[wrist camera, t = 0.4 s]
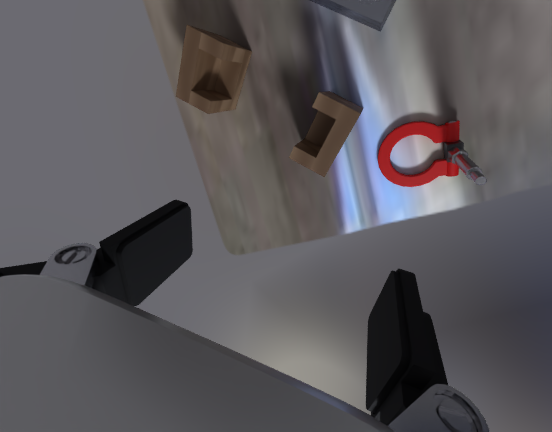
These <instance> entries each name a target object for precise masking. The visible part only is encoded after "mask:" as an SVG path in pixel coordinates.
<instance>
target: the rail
mask: <svg viewBox="0 0 552 432" xmlns="http://www.w3.org/2000/svg"><path fill="white" fill-rule="evenodd" d="M310 1H312V2H315V3H317V4H319V5H321V6H324V7H326V8H328V9H330V10H333V11H335V12H337V13H339V14H342V15H344V16H346V17H348V18H351V19H353V20H355V21H358V22H360V23H362V24H364V25H367V26H369V27H371V28H373V29H376V30H378V31H380V32H381V30H382V28H383V26H384V24H385V22H386V20H387V18H388V16H389V14H390V12H391V10H392V8H393V6H394V4H395V2H396V0H310Z"/></svg>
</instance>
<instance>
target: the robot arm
mask: <svg viewBox="0 0 552 432" xmlns="http://www.w3.org/2000/svg"><path fill="white" fill-rule="evenodd" d="M99 243H100V247H101V248H99V249H97V250H96V248H95V246H93V245H91V244H87V243H78V244H72V245H68V246H65V247H63V248H61V249H59V250H57V251H56V252H54V253H53V254H52V255H51V256H50V258H49V259H48V261H45V262H39V263H33V264H25V265H19V266H12V267H5V268H0V432H489V428H488V425H487V423H486V420H485V418H484V417H483V415H482V414H481V412H480V411H479V409H478V408H477V407H476V406H475V404H474V403H473V402H472V401H471V400H470V399H469V398H468V397H466V396H465V395H464V394H463V393H462V392H460V391H458V390H457V389H455V388H453V387H451V386H448V383H447V379H446V375H445V371H444V367H443V362H442V358H441V354H440V350H439V346H438V343H437V339H436V335H435V330H434V326H433V323H432V319H431V316H430V315H429V314H428V313H425V312H423V309H422V305H421V300H420V296H419V292H418V286H417V282H416V277H415V274H414V273H411V272H408V271H405V270H402V269H398V270H397V271H396V272H395V271H391V273H390V274H389V277H388V279H387V281H386V283H385V285H384V287H383V289H382V291H381V293H380V295H379V297H378V299H377V301H376V303H375V305H374V307H373V309H372V311H371V314H370V316H369V320H368V341H367V342H368V343H367V379H366V381H367V382H366V409H367V410H369V411H371V415H369V414H367V413H365V412H363V411H361V410H359V409H357V408H356V407H353V406H352V405H350V404H348V403H346V402H344V401H342V400H340V399H338V398H336V397H334V396H331V395H329V394H327V393H325V392H323V391H321V390H319V389H316V388H314V387H312V386H310V385H308V384H306V383H304V382H302V381H300V380H297V379H295V378H293V377H291V376H289V375H286V374H284V373H282V372H279V371H278V370H275V369H273V368H271V367H268V366H266V365H264V364H262V363H260V362H258V361H256V360H253V359H251V358H249V357H247V356H244V355H242V354H240V353H238V352H235V351H233V350H231V349H229V348H227V347H224V346H222V345H220V344H218V343H215V342H213V341H211V340H209V339H207V338H204V337H202V336H199V335H198V334H195V333H193V332H191V331H189V330H186V329H184V328H182V327H180V326H177V325H175V324H173V323H170V322H168V321H166V320H163V319H162V318H159V317H157V316H155V315H152V314H150V313H148V312H146V311H143V310H141V309H139V308H136V307H134V306H137V305H139V304H140V303H141V302H142V301H143V300H144V299H145V298H146V297H147V296H149V295H150V294H151V293H152V292H153V291H154V290H155V289H156V288H157V287H158V286H159V285H160V284H162V283H163V282H164V281H165V280H166V279H167V278H168V277H169V276H170V275H171V274H172V273H174V272H175V271H176V270H177V269H178V268H179V267H180V266H181V265H182V264H183V263H184V262H185V261H186V260H188V259H189V258H190V256H191V255H192V250H193V249H192V227H191V209H190V207H189V206H188V204H187V203H185V202H182V201H179V200H173V201H171V202H170V203H168V204H166V205H164V206H163V207H161V208H159V209H157V210H155V211H154V212H152V213H150V214H148V215H147V216H145V217H143V218H141V219H140V220H138V221H136V222H134V223H132V224H131V225H129V226H127V227H125V228H123V229H122V230H120V231H118V232H116V233H115V234H113V235H111V236H109V237H107V238H106V239H104V240H102V241H100V242H99Z"/></svg>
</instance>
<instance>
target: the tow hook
mask: <svg viewBox="0 0 552 432" xmlns="http://www.w3.org/2000/svg"><path fill="white" fill-rule="evenodd" d="M459 122H460V121H456V120H455V121H450V122H447V123H445V125H440V126H436V125H435V124H432V123H428V122H424V121H414V122H410V123H406V124H403V125H401V126H399V127H397V128H395V129H394V130H393V131H392V132H390V133H389V134H388V135H387V136H386V138H385V139H384V140H383V142H382V144H381V146H380V149H379V153H378V164H379V168H380V170H381V172H382V174H383V175H384V176H385V177H386V178H387V179H388V180H389V181H391V182H393V183H394V184H397V185H400V186H407V187H414V186H421V185H423V184H426V183H429V182H431V181H432V180H434V179H435V178H437V177H438V176H443V175H446V176H457V175H458V174H459V168H460V169H461V170H462V172H463V173H464V174H465V175H466V177H467V178H468V179H471V180H473V181H474V182H475V183H476V184H477V185H483V184H485V183H486V182H487V179H486V177H485V176H484V175H483V174H482V170H481V169H480V168H479V167H478V166H477V165H476V164H475V163H474V162H473V161H472V160H471V159H470V158H469V157H468V153H467V152H466V151H465V150H464V143H463V142H462V141H460V140H459ZM410 135H424V136H427V137H428V138H430V139H431V140H432V141H433V142H434V143H441V142H444V158H445V159H439V160H435V161H434V162H433V164H432V165H431V166H430V167H429V168H428V169H427V170H425V171H424V172H421V173H419V174H415V175H405V174H402V173H399V172H398V171H396V170H395V169H394V168H393V166H392V164H391V162H390V153H391V150H392V148H393V147H394V145H395V144H396V143H397V142H398V141H399V140H401V139H402V138H404V137H406V136H410Z"/></svg>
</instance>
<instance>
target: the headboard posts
mask: <svg viewBox="0 0 552 432" xmlns="http://www.w3.org/2000/svg"><path fill="white" fill-rule="evenodd" d="M251 53H252V51H250V50H248V49H246V48H244V47H242V46H240V45H238V44H236V43H234V42H232V41H230V40H228V39H226V38H224V37H222V36H220V35H217V34H214V33H211V32H208V31H205V30H202V29H198V28H195V27H192V26H189V25H187V26H186V32H185V39H184V46H183V52H182V59H181V65H180V72H179V79H178V85H177V92H176V97H178V98H180V99H182V100H183V101H185V102H187V103H189V104H191V105H193V106H194V107H196V108H198V109H200V110H202V111H204V112H205V113H207V114H211V113H216V112H222V111H228V110H234V109H236V106H237V102H238V99H239V95H240V92H241V88H242V85H243V81H244V78H245V74H246V71H247V67H248V64H249V60H250V57H251ZM313 108H315V109H317V110H318V112H317V114H316V116H315V118H314V120H313V122H312V125H311V127H310V129H309V131H308V133H307V135H306V137H305V139H303V140H302V141H301V142H299V143H298V144H297V145H295V146H294V148H293V150H292V152H291V155H290V157H289V158H290V159H292V160H294V161H296V162H297V163H299V164H301V165H303V166H305V167H307V168H308V169H310V170H312V171H314V172H316V173H318V174H319V175H321V176H323V177H325V175H326V173H327V172H328V170H329V168H330V166H331V165H332V163H333V161H334V159H335V158H336V156H337V154H338V152H339V151H340V149H341V147H342V145H343V144H344V142H345V140H346V139H347V137H348V135H349V133H350V132H351V130H352V128H353V126H354V125H355V123H356V121H357V119H358V118H359V116H360V114H361V112H362V110H363V108H362V107H360V106H358V105H356V104H354V103H352V102H350V101H348V100H346V99H344V98H342V97H340V96H338V95H336V94H334V93H332V92H330V91H326V92H319V93H318V96H317V98H316V100H315V102H314V104H313Z"/></svg>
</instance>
